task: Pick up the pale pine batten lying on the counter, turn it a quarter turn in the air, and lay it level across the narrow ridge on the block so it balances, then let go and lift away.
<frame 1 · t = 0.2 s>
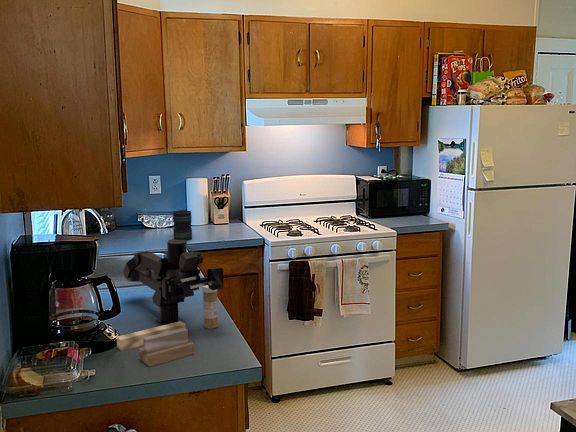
hand: (208, 290, 157), 16 cm above the worktop, tool horizontal, fingers open, 9 cm apart
batten: (152, 341, 164), on the worktop
ridge: (166, 356, 153), on the worktop
sprinkles bottle: (211, 327, 175), on the worktop
storage jar: (182, 239, 303), on the worktop
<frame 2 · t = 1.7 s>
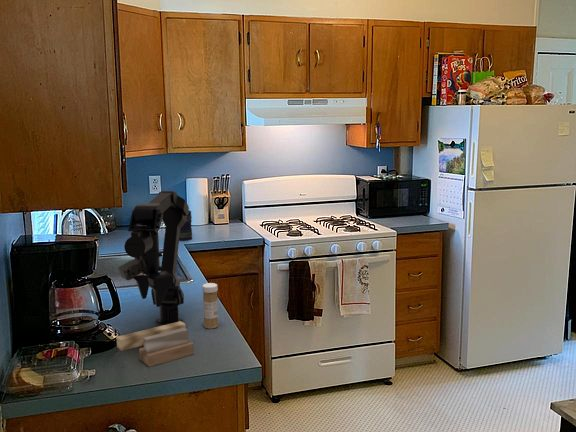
hand: (151, 302, 162), 11 cm above the worktop, tool pointing down, fingers open, 9 cm apart
nothing on the worktop moved.
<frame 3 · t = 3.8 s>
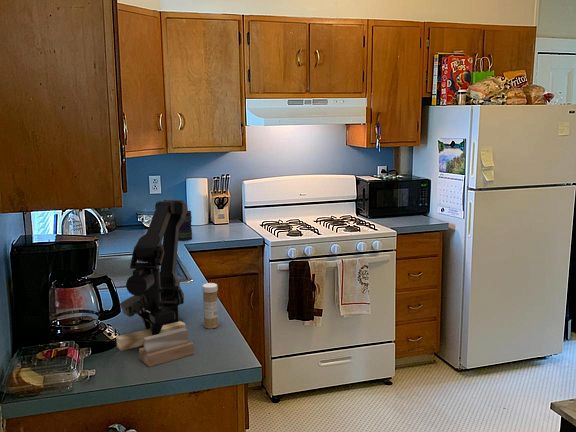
hand: (152, 337, 164), 1 cm above the worktop, tool pointing down, fingers closed on batten, 3 cm apart
batten: (152, 341, 164), on the worktop, touching gripper
everything else where it was.
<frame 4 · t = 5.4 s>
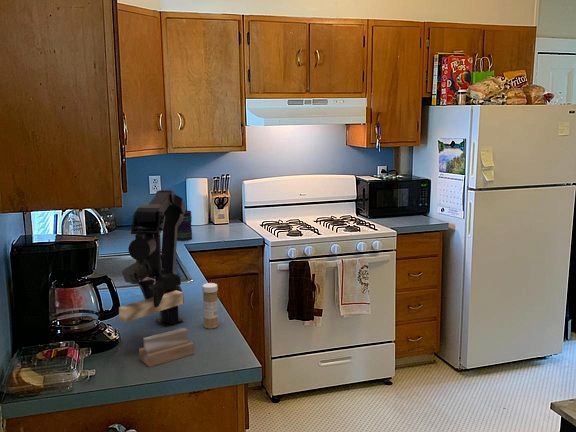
hand: (152, 305, 160), 11 cm above the worktop, tool pointing down, fingers closed on batten, 3 cm apart
batten: (152, 311, 160), point 10 cm above the worktop, touching gripper
everything else where it was.
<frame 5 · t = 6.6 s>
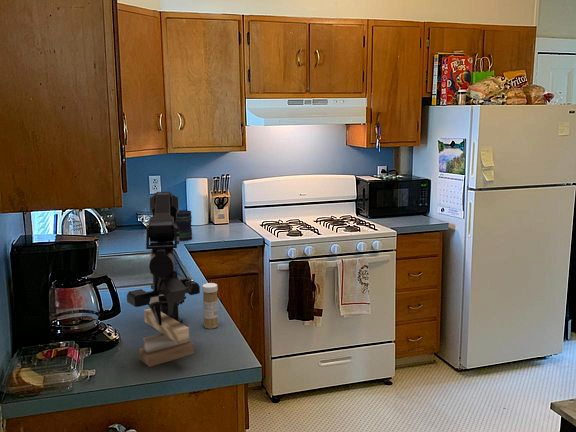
hand: (165, 323, 151), 9 cm above the worktop, tool pointing down, fingers closed on batten, 3 cm apart
batten: (166, 330, 152), point 7 cm above the worktop, touching gripper
everything else where it was.
when the fingers open (9 cm above the worktop, at t = 7.0 s): batten stays where it is, resting on ridge.
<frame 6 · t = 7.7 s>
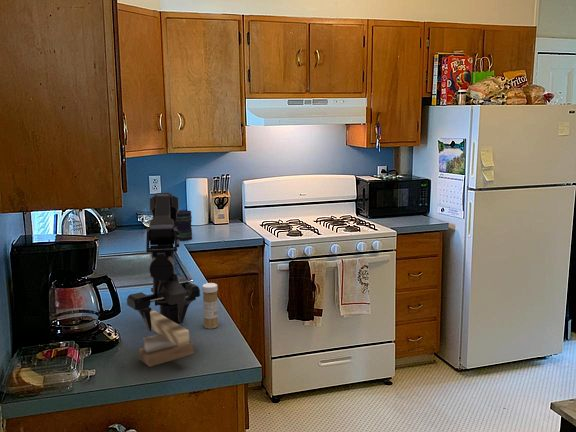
hand: (165, 326, 151), 9 cm above the worktop, tool pointing down, fingers open, 9 cm apart
batten: (166, 333, 152), point 6 cm above the worktop, touching ridge
everything else where it was.
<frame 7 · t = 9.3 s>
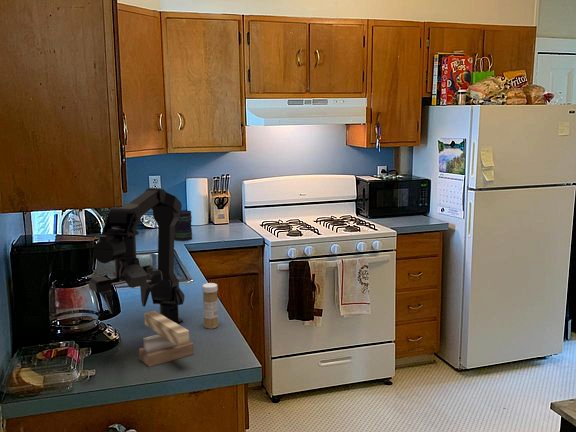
hand: (128, 309, 154), 12 cm above the worktop, tool pointing down, fingers open, 9 cm apart
nothing on the worktop moved.
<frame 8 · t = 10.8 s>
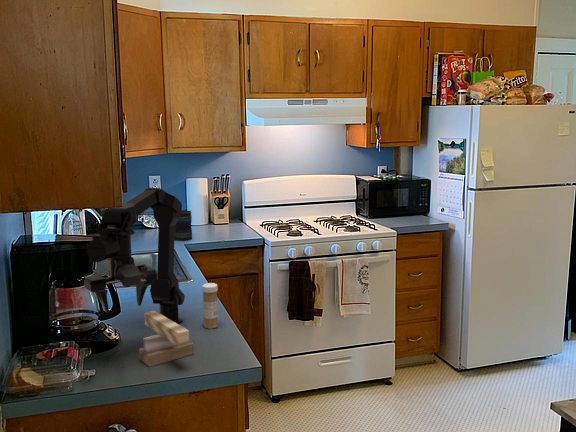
hand: (123, 309, 155), 12 cm above the worktop, tool pointing down, fingers open, 9 cm apart
nothing on the worktop moved.
at the end: batten 0.1 cm off-centre on the ridge, point 6.5 cm above the ridge's base; batten tilted 0°; the gripper is holding nothing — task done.
